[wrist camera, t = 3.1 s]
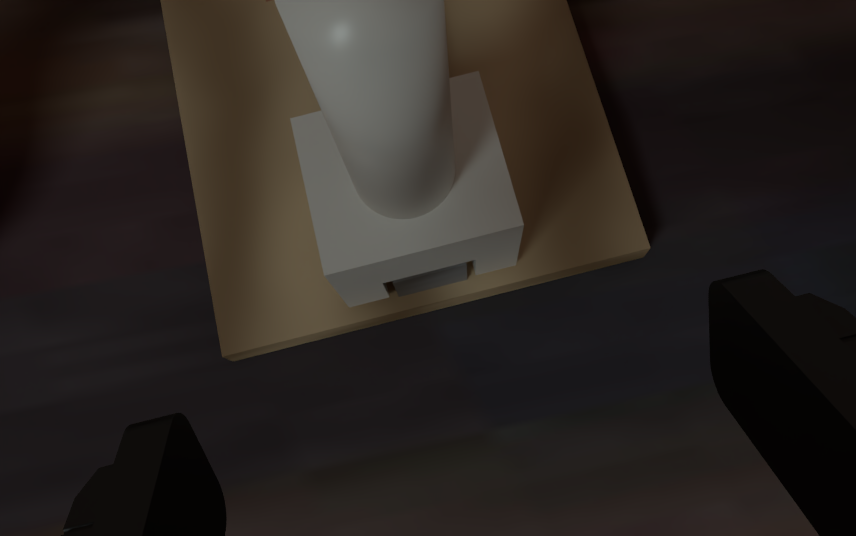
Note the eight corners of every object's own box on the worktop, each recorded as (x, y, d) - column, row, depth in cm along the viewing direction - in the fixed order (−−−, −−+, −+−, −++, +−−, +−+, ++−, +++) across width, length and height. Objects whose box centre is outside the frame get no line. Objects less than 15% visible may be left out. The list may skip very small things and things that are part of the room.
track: (233, 361, 27) (163, 331, 21) (162, -37, 31) (88, -157, 25) (643, 257, 27) (691, 197, 21) (514, -126, 31) (523, -266, 25)
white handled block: (349, 307, 25) (218, 143, 13) (319, 173, 27) (173, -101, 14) (516, 265, 26) (557, 58, 13) (477, 133, 27) (480, -178, 14)
